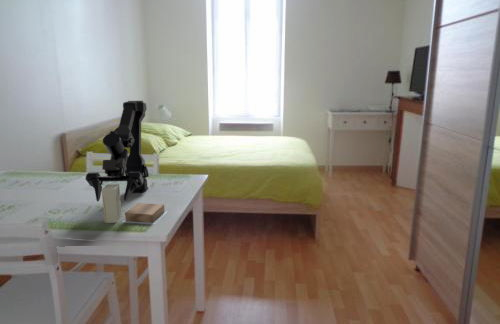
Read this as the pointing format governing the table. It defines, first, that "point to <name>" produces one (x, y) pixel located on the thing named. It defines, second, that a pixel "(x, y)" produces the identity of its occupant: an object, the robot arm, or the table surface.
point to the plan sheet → (147, 223)
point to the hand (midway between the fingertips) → (111, 200)
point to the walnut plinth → (144, 213)
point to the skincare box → (111, 203)
